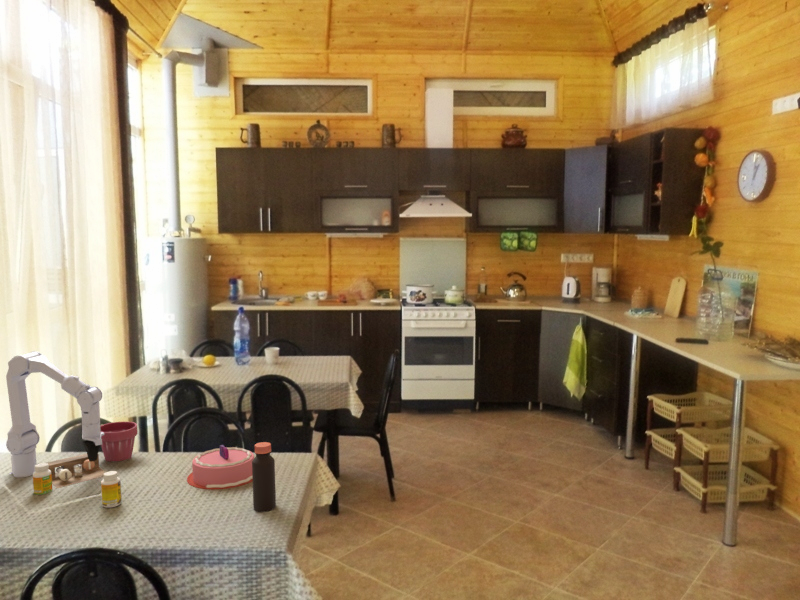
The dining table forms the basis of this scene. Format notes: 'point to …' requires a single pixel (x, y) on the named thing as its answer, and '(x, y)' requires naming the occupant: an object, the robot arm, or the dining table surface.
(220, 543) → the dining table surface
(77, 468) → the pot dial
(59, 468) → the knob ivory
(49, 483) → the supplement bottle
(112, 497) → the supplement bottle
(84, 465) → the knob terracotta
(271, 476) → the vinegar
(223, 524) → the dining table surface
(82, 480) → the mount
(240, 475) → the cake
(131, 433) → the plant pot
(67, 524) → the dining table surface
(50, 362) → the robot arm
